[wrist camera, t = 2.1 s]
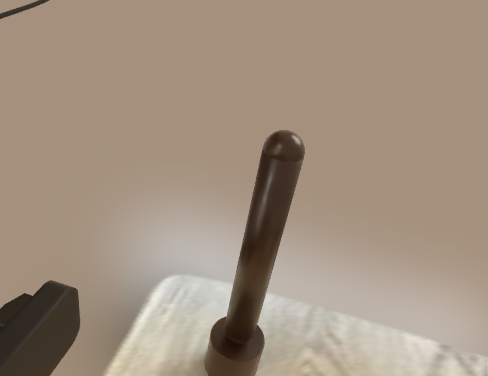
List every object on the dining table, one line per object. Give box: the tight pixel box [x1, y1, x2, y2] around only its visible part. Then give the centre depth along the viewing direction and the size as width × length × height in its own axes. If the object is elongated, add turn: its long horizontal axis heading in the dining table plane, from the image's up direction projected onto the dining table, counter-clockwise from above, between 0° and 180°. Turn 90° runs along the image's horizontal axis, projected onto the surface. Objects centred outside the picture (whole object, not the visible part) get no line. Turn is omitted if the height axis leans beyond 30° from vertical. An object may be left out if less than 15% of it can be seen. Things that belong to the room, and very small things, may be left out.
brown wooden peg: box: [205, 130, 305, 376], centre depth 24 cm, size 4×4×18 cm
